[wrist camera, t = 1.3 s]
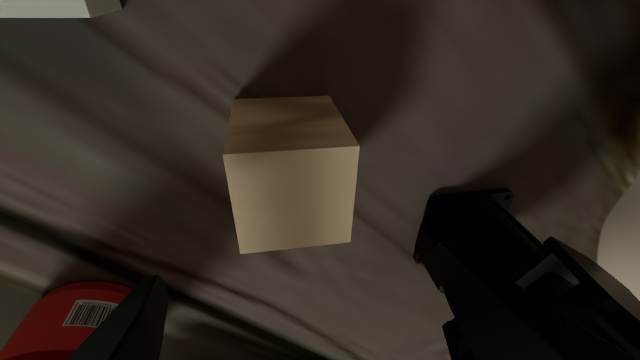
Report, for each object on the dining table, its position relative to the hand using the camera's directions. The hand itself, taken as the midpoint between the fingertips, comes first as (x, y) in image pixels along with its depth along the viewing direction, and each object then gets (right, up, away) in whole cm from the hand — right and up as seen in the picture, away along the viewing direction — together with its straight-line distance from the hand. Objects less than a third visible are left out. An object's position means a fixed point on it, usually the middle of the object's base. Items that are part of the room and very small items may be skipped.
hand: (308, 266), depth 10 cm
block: (-2, +5, +8) cm, 9 cm away
